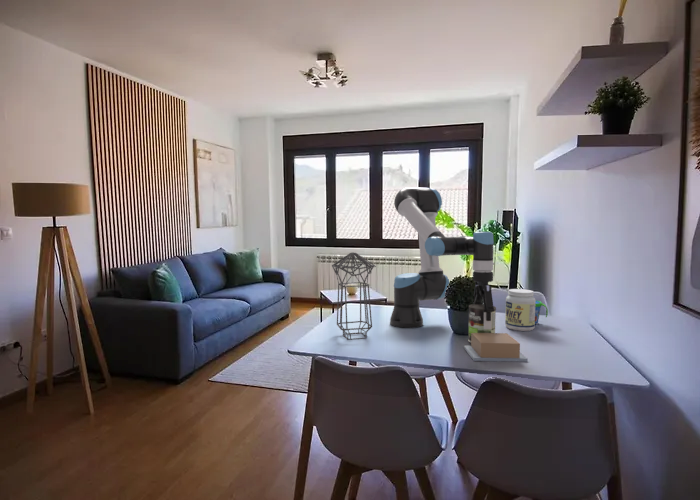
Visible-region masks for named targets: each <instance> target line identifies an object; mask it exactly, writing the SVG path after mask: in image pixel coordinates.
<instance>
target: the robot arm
mask: <svg viewBox="0 0 700 500" xmlns="http://www.w3.org/2000/svg"><path fill="white" fill-rule="evenodd" d="M393 202H394V203H393V205H394V208H395V210H396V212H397V213H398V214H399V215H400V216H402V217H404V218H405V219H406V220H407V222H408V223H409V224H410V226H412V228H413V229H414V230H415V231H416V232H417V234H418V246H419V256H420V258H419V259H420V270H419V271H418V272H408V273H407V272H405V273H401V274H397V275H396V276H395V277H394V281H393V282H394V283H393V309H392V313H391V316H390V319H389V321H390V322H389V323H390V325H391V326H393V327H397V328H406V329H411V328H413V329H414V328H419V327H423V325H424V319H423V315H422V313H421V310H420V302H422V301H435V300H437V301H438V300H440V299H444V298H446V296H445V292H446V289H447V286H448V284H449V283H450V280H449V278H448V276H447V275H446V274H444V270H443V268H441V267H440V259H439V257H441V256H443V257H444V256H466V255H467V256H472V270H473V272H472V281H474V291H473V296H474V302H473V304H484V309H485V310H483V312H484V329H492V311H494V307H493V306H494V302H493V295H492V294H493V293H492V285H489V283H491V282H493V281H494V272H493V270H494V266H495V262H494V244H495V241H494V233H493V232H492V231H475V232H473V235H472V236H466V235H462V236H445V235H444V234H443V233H442V232H441V230H440V229H439V228H438V227H437V225H436V224H437V223H436V218H437V216H438V215H439V211H440V210H441V209H442V205H443V199H442V195H441V193H440V192H439V191H438V190H437V189H435V188H432V187H413V186H411V187H410V186H409V187H404V188H402V189H400V190H399V191H398V192H397V193H396V195H395V196H394V201H393Z"/></svg>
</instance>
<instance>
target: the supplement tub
mask: <svg viewBox="0 0 700 500" xmlns="http://www.w3.org/2000/svg"><path fill="white" fill-rule="evenodd" d="M535 300H536V298H535V297H534V290H530V289H525V288H524V289H522V288H509V289H508V292H507V295H506V297H505V316H504V317H505V320H504V324H505V327H506V328H507V329H510V330H512V331H519V332H529V331H533V330H534V329H535V327H536V324H535V302H536V301H537V300H536V301H535Z"/></svg>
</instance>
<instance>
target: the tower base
mask: <svg viewBox="0 0 700 500" xmlns="http://www.w3.org/2000/svg"><path fill="white" fill-rule="evenodd" d="M463 349H464V351H466V353H467V354H468V355H469V357H470V358H471V360H472V361H473V362H475V361H476V362H525V363H526V362H527V363H528V357H526V356H525V355H524V354H522V352H521V351H520V350H521V343H520V342H519V341H518V340H516V339H515V338H514V337H512V336H511V335H510V334H508V332H505V333H503V332H497V333H496V332H495V333H471V343H470V345H464V346H463Z"/></svg>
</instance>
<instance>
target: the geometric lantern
mask: <svg viewBox="0 0 700 500" xmlns="http://www.w3.org/2000/svg"><path fill="white" fill-rule="evenodd" d="M357 259H358V260H359V263H358V262H357ZM350 263H351V265H350ZM349 265H350V266H349ZM363 265H365V266H363ZM331 267H332V270H333V272H334V274H335V275H336V279H337V304H336V305H337V309H336V311H337V312H336V326H337V327H338V328H339V330H340V331H342V335H343V336H344V338H346V340H347V341H349V340H350V341H351V340H352V341H353V340H362V339H367V338H368V336H367V335H368V334H367V333H368V332H369V331H370V330H371V329H372V328H373V322H372V321H373V320H372V309H371V308H372V307H371V298H370V297H371V295H370V283H368V281H369V275H371V274H372V271H373V269H374V268H376V267H377V265H375V264H374V263H372V262H371V261H370V260H368V259H366V258H364V257H363V256H361V255H360V254H358V253H357V252H349V253H348V254H347V255H345V256H344V257H342V258H341V259H340V260H337V261H336V262H335V263H333V264H331ZM349 269H350V270H351V271H349ZM362 269H364V270H363V271H361V270H362ZM340 270H341V271H343V272H345V275H344V277H343V280H342V279H341V277H340V274H339V273H340ZM357 270H358V273H356V274H355V272H356V271H357ZM365 272H366V276H365V278H363V276H362V274H363V273H365ZM347 274H349V275H350V276H349V278H348V280H347V281H346V282H344V281H345V280H346V277H347V276H348V275H347ZM357 276H360V278H361V280H362V282H361V281H360V280H359V278H358V277H357ZM352 277H355V278H356V280H357V281H358V282H349V281H350V279H351V278H352ZM339 281H340V282H339ZM347 284H350V285H347ZM351 284H359V285H351ZM353 287H355V288H356V287H359V321H358V320H355V321H348V308H347V305H348V303H347V302H348V301H347V288H353ZM362 288H363V290H362ZM362 291H363V303H364V316H365V318H364V320H362ZM343 299H344V305H345V308H344V309H345V321H344V322H343ZM339 303H340V304H339ZM339 305H340V311H339ZM368 309H369V310H368ZM339 313H340V314H339ZM369 318H370V319H369ZM354 323H355V324H356V323H359V327H356V328H355V327H354V328H353V327H350V328H348V324H354ZM362 323H364V324H363V325H362V327H361V324H362ZM343 325H345V328H344V326H343ZM366 325H367V327H365V326H366ZM352 330H353V331H356V330H357V331H358V332H350V331H352ZM362 331H363V332H362ZM360 334H361V335H363V336H364V337H355V338H352V335H360ZM346 335H347V336H346Z"/></svg>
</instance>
